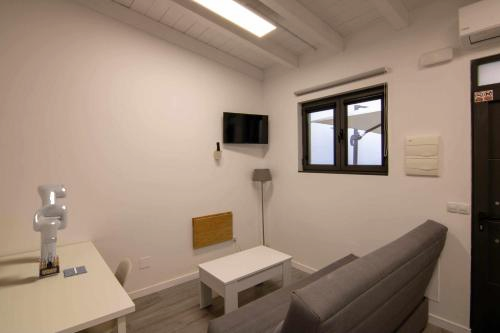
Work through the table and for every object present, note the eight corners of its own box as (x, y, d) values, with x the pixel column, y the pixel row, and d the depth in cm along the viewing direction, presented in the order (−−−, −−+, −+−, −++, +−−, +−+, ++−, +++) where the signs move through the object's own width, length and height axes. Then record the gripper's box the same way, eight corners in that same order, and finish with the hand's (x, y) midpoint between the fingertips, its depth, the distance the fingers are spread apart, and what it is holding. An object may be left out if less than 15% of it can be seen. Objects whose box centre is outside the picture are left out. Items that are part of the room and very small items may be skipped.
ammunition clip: (59, 271, 171) (59, 254, 170) (59, 272, 169) (59, 255, 169) (39, 276, 164) (39, 258, 163) (39, 277, 162) (39, 258, 162)
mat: (63, 270, 175) (63, 269, 175) (84, 266, 183) (84, 265, 183) (65, 277, 165) (65, 276, 165) (86, 272, 172) (86, 271, 172)
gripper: (42, 238, 170) (42, 265, 170) (42, 244, 158) (42, 273, 158) (56, 236, 175) (56, 262, 175) (57, 242, 162) (57, 270, 163)
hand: (49, 267), depth 166 cm, fingers closed on ammunition clip, 1 cm apart
